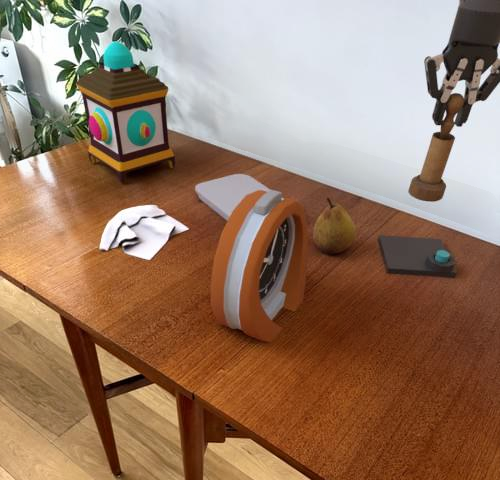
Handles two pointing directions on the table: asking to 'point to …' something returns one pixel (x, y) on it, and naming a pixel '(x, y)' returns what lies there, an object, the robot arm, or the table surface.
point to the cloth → (140, 231)
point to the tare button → (442, 256)
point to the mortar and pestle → (437, 156)
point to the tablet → (227, 192)
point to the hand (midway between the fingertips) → (447, 124)
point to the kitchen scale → (415, 256)
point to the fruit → (333, 230)
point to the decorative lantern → (125, 114)
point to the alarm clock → (260, 264)
